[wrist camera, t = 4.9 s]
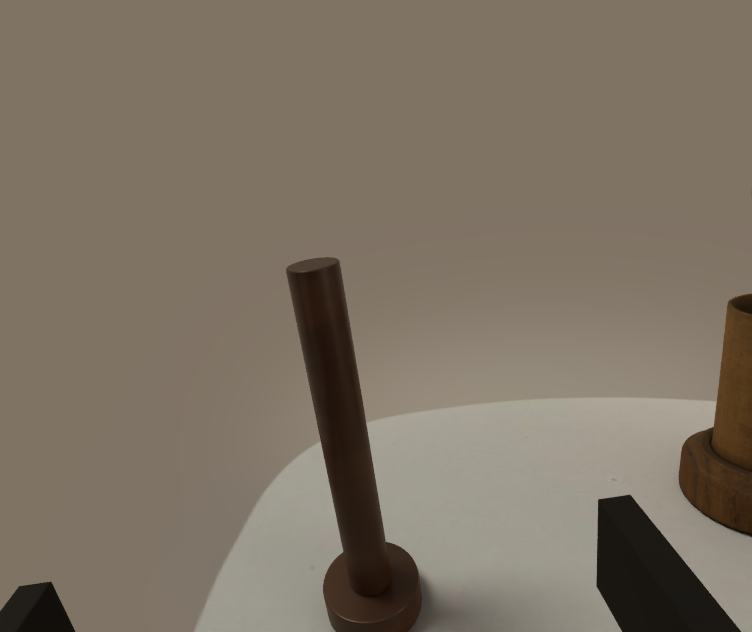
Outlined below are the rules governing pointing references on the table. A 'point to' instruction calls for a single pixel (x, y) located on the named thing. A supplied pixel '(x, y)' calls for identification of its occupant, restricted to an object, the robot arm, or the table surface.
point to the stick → (349, 464)
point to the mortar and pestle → (726, 432)
